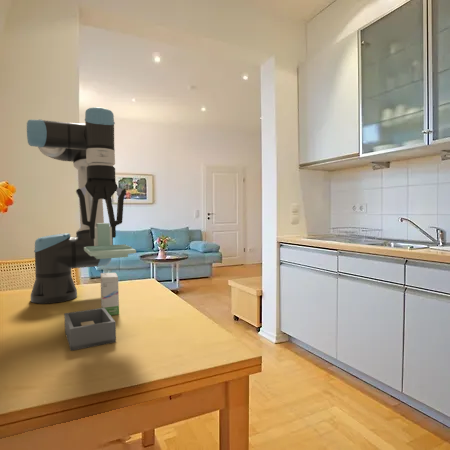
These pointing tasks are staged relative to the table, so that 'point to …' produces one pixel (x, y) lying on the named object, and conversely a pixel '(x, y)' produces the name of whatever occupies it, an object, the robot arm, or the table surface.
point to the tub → (89, 328)
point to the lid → (107, 245)
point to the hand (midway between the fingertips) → (103, 249)
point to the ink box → (110, 293)
